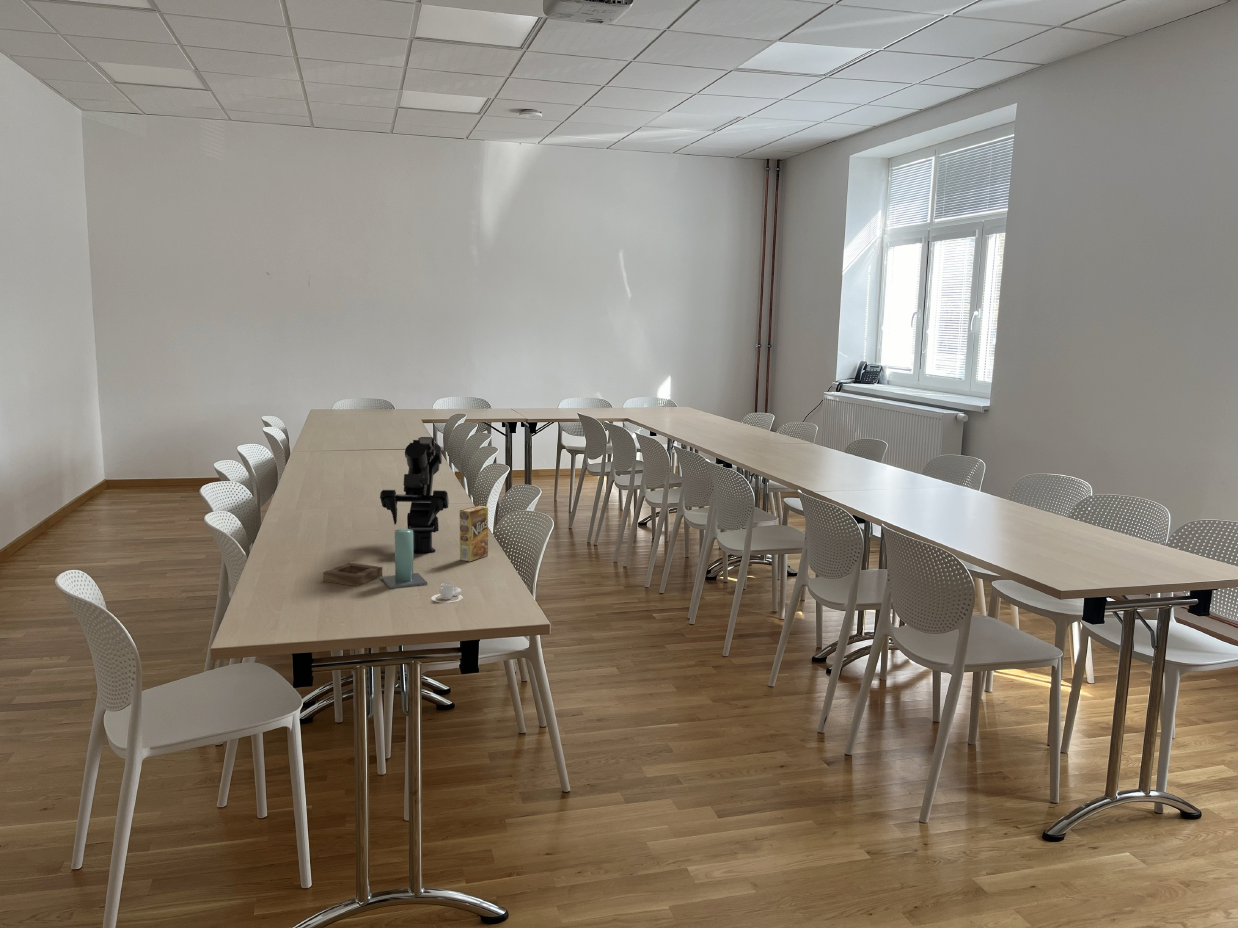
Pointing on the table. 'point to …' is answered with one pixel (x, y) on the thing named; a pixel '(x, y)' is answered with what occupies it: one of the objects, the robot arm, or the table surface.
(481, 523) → the candy box
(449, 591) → the teacup and saucer
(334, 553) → the table surface
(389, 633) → the table surface
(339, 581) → the pocket block
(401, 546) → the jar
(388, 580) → the coaster
